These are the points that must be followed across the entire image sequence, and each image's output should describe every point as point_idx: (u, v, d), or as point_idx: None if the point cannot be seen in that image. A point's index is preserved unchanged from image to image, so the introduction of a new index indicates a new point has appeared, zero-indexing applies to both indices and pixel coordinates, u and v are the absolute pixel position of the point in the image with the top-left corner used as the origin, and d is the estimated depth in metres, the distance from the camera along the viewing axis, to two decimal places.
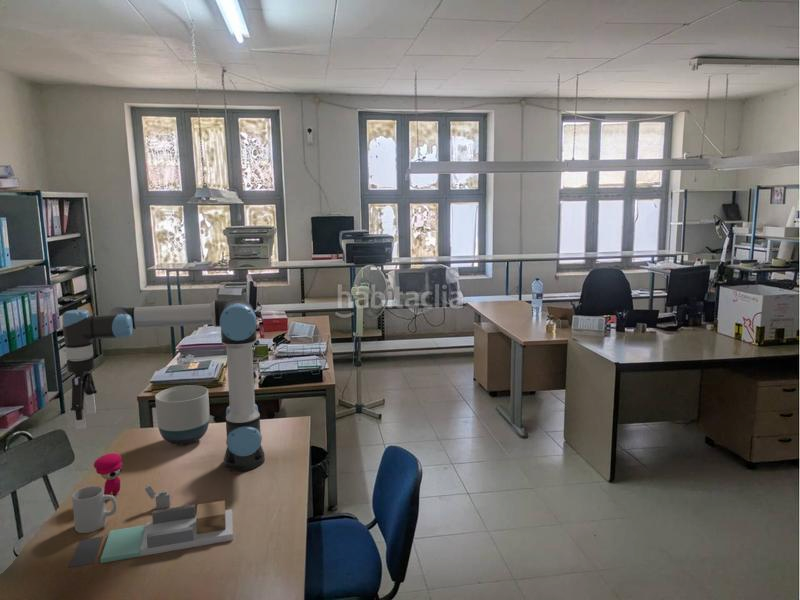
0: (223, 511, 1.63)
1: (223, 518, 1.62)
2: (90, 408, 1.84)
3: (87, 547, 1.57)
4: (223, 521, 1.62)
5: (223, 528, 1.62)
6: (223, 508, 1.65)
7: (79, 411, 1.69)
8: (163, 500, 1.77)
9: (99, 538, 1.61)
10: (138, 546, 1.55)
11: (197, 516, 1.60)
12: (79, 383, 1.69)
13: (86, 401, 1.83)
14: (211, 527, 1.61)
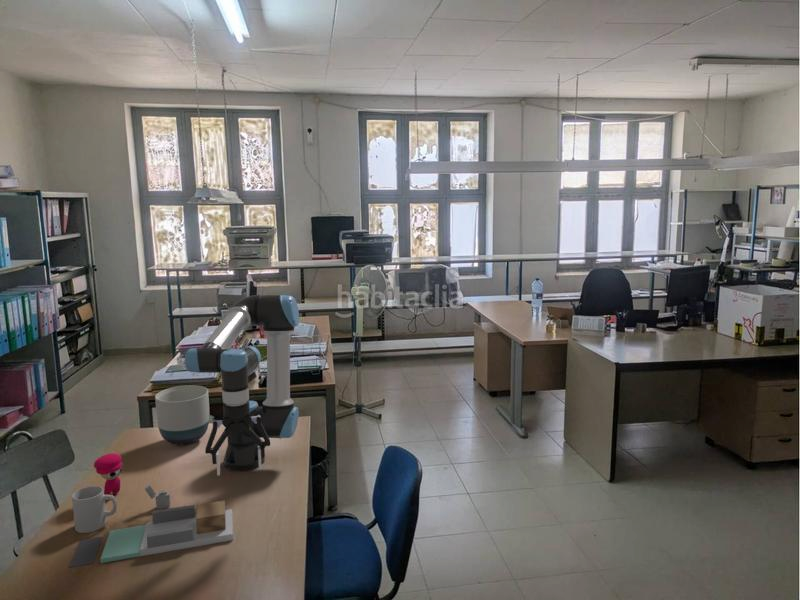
0: (223, 511, 1.63)
1: (223, 518, 1.62)
2: (258, 462, 1.66)
3: (87, 547, 1.57)
4: (223, 521, 1.62)
5: (223, 528, 1.62)
6: (223, 508, 1.65)
7: None
8: (163, 500, 1.77)
9: (99, 538, 1.61)
10: (138, 546, 1.55)
11: (197, 516, 1.60)
12: None
13: None
14: (211, 527, 1.61)
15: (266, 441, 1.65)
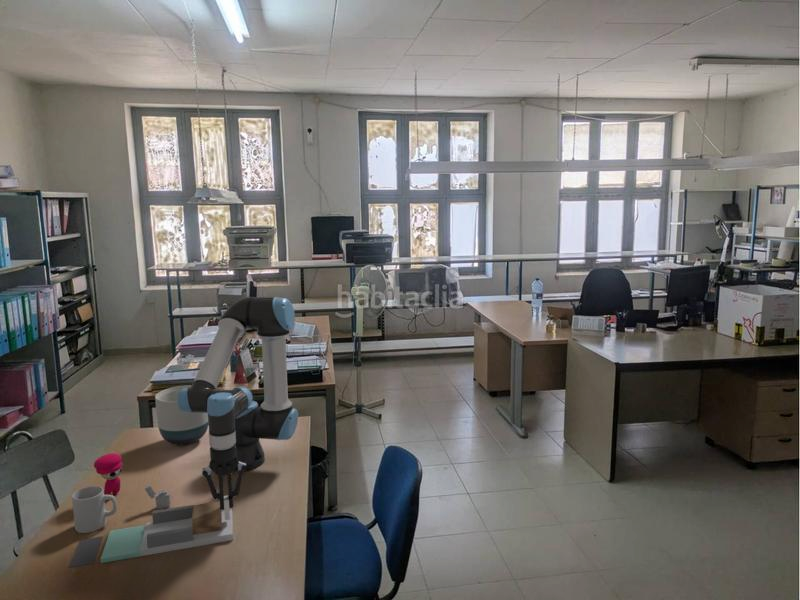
0: (219, 512, 1.63)
1: (219, 519, 1.61)
2: None
3: (87, 547, 1.57)
4: (219, 522, 1.62)
5: (219, 529, 1.62)
6: (219, 509, 1.64)
7: None
8: (163, 500, 1.77)
9: (99, 538, 1.61)
10: (138, 546, 1.55)
11: (193, 517, 1.60)
12: None
13: None
14: (207, 528, 1.61)
15: (236, 490, 1.65)
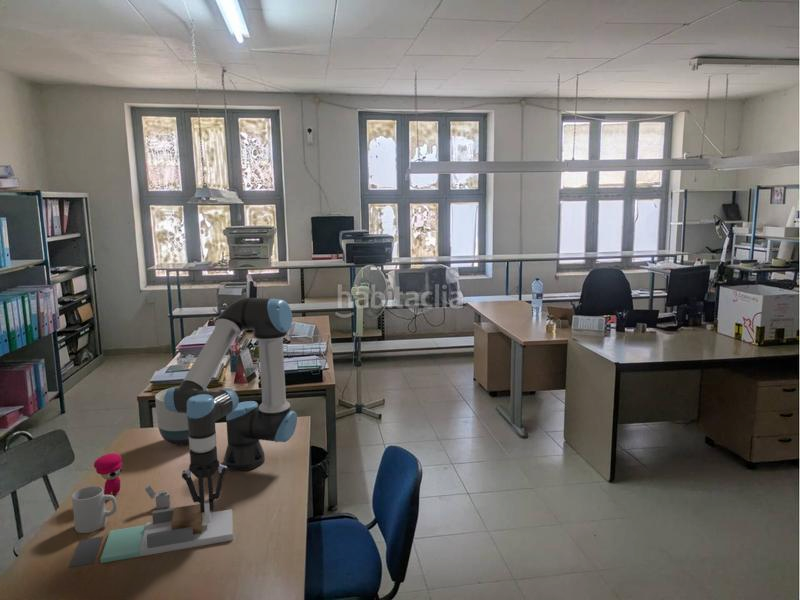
0: (199, 515, 1.61)
1: (199, 522, 1.60)
2: None
3: (87, 547, 1.57)
4: (199, 525, 1.60)
5: (198, 532, 1.60)
6: (199, 511, 1.63)
7: None
8: (163, 500, 1.77)
9: (99, 538, 1.61)
10: (138, 546, 1.55)
11: (172, 519, 1.59)
12: None
13: None
14: None
15: (217, 493, 1.63)
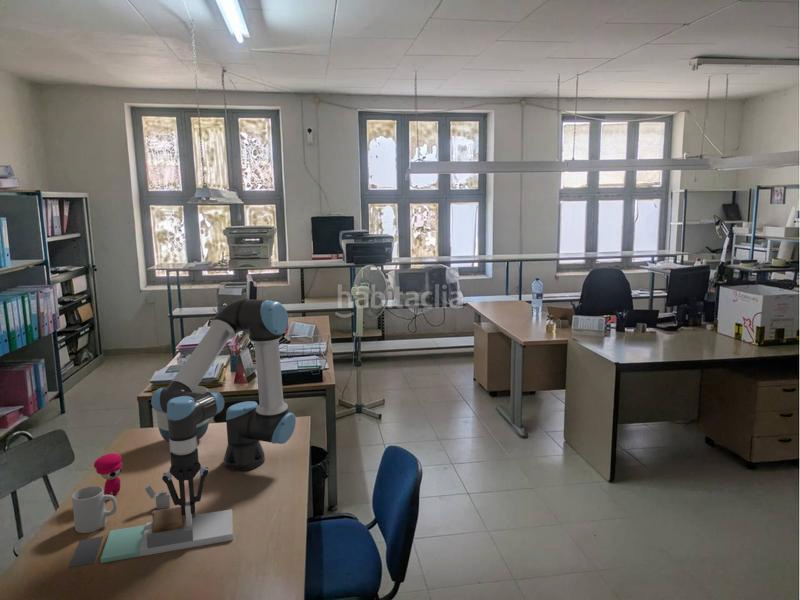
0: (180, 518, 1.60)
1: (180, 525, 1.58)
2: None
3: (87, 547, 1.57)
4: (180, 528, 1.58)
5: None
6: (181, 515, 1.61)
7: None
8: (163, 500, 1.77)
9: (99, 538, 1.61)
10: (138, 546, 1.55)
11: (153, 523, 1.57)
12: None
13: None
14: None
15: (198, 496, 1.61)
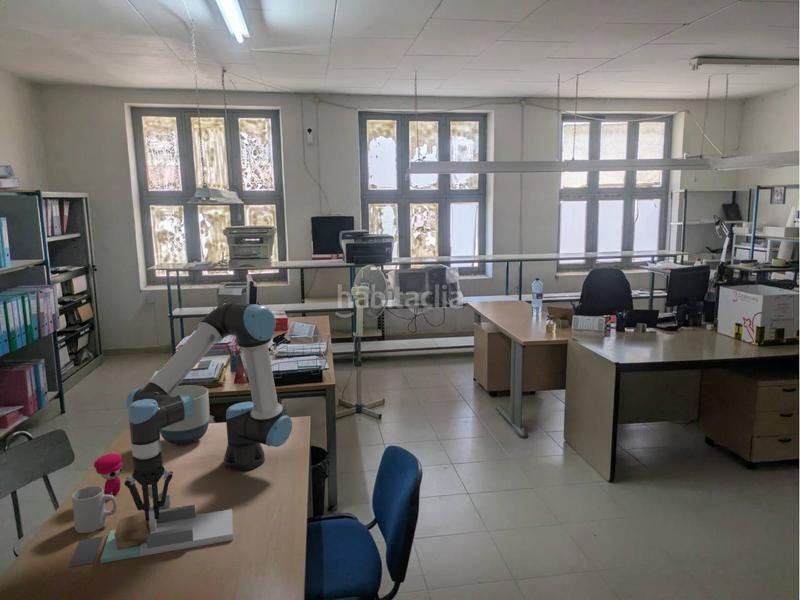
0: (144, 523, 1.56)
1: (144, 531, 1.55)
2: None
3: (87, 547, 1.57)
4: (144, 534, 1.55)
5: (145, 541, 1.56)
6: (145, 520, 1.58)
7: None
8: None
9: (99, 538, 1.61)
10: (138, 546, 1.55)
11: (116, 531, 1.54)
12: None
13: None
14: (132, 541, 1.55)
15: (162, 501, 1.58)
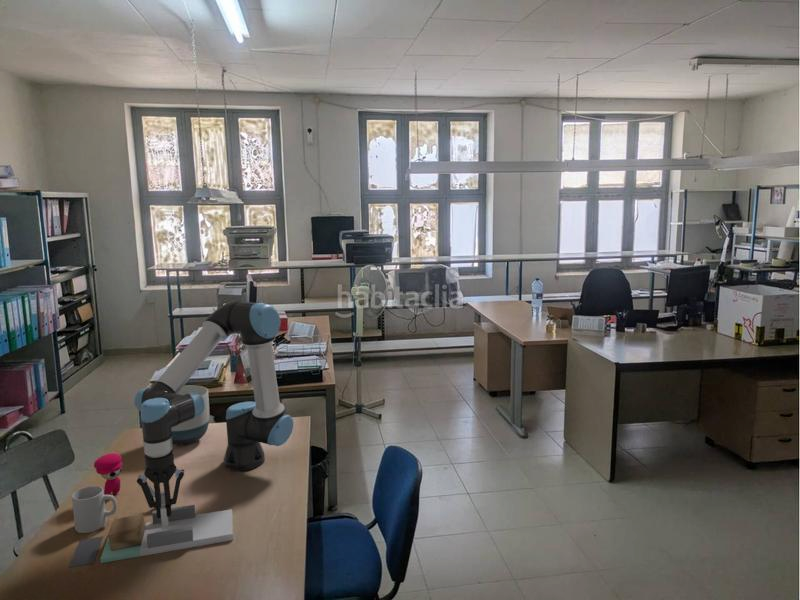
0: (138, 525, 1.56)
1: (137, 532, 1.55)
2: None
3: (87, 547, 1.57)
4: (138, 535, 1.55)
5: (138, 543, 1.55)
6: (139, 521, 1.58)
7: None
8: (163, 500, 1.77)
9: (99, 538, 1.61)
10: (138, 546, 1.55)
11: (109, 532, 1.54)
12: None
13: None
14: (125, 543, 1.54)
15: (174, 499, 1.59)
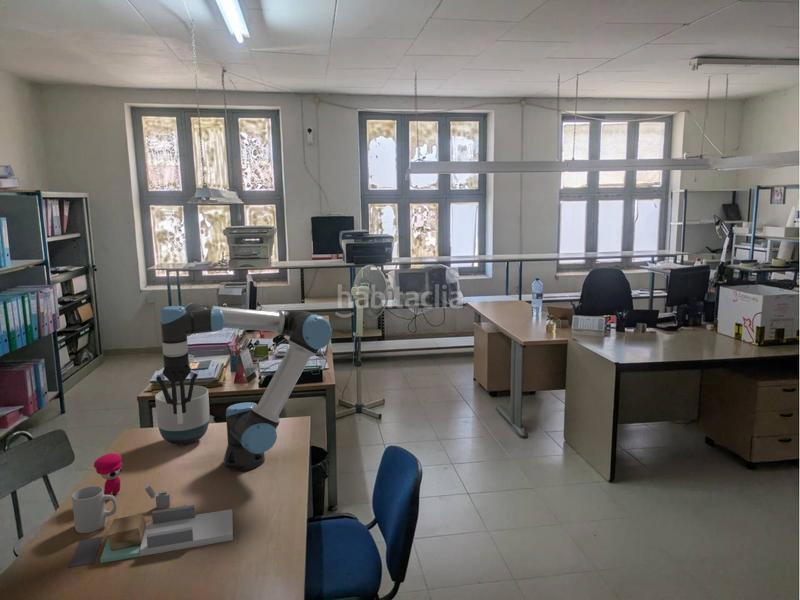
0: (138, 525, 1.56)
1: (137, 532, 1.55)
2: None
3: (87, 547, 1.57)
4: (138, 535, 1.55)
5: (138, 543, 1.55)
6: (139, 521, 1.58)
7: None
8: (163, 500, 1.77)
9: (99, 538, 1.61)
10: (138, 546, 1.55)
11: (109, 532, 1.54)
12: None
13: None
14: (125, 543, 1.54)
15: (188, 397, 1.79)
